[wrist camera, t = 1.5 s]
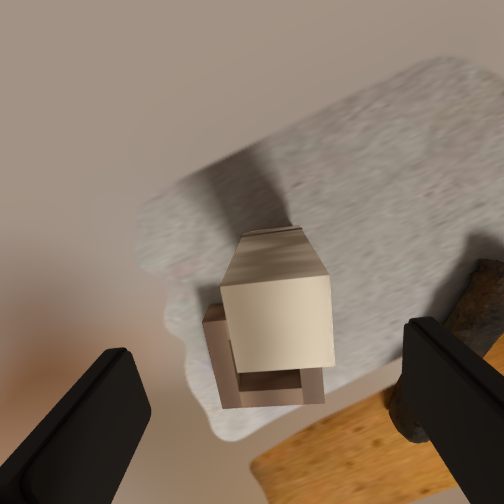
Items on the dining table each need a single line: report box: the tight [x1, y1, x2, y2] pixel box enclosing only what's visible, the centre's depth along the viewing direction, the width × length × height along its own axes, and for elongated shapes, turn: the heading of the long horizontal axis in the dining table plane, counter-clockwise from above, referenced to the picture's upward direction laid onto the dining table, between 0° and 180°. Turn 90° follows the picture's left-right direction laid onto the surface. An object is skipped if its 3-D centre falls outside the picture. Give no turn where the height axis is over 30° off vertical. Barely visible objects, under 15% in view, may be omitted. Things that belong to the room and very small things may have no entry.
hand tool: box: [389, 259, 504, 443], centre depth 22 cm, size 19×4×5 cm, turn 158°
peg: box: [220, 226, 335, 373], centre depth 16 cm, size 5×5×12 cm
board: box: [202, 304, 325, 409], centre depth 24 cm, size 10×10×3 cm
